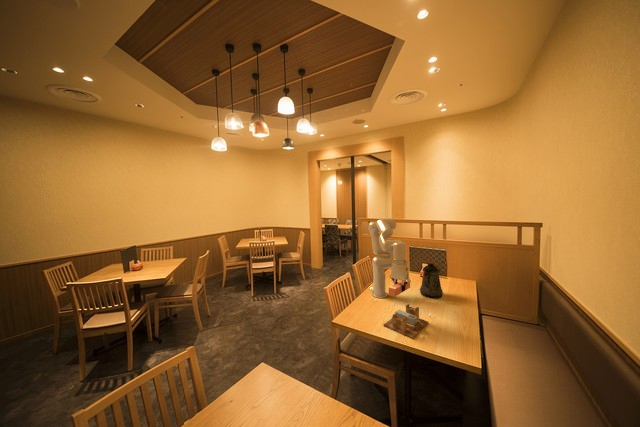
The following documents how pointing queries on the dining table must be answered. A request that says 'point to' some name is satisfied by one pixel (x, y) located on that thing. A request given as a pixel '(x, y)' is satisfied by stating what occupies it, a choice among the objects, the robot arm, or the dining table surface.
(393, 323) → the jig
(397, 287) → the orange banded bar
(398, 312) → the grey rectangular block
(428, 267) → the black backpack
